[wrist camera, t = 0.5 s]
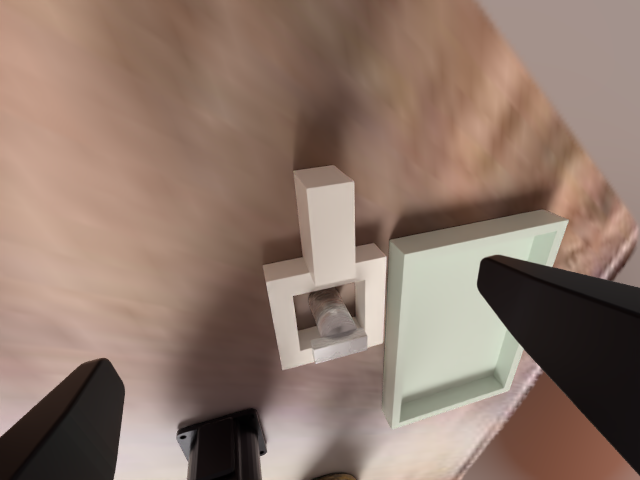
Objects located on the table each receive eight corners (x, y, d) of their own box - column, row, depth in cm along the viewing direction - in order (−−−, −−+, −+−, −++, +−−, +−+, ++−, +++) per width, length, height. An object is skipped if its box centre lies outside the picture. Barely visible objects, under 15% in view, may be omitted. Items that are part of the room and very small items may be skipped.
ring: (372, 325, 26) (391, 358, 23) (278, 350, 24) (285, 387, 21) (375, 159, 19) (403, 173, 16) (246, 177, 18) (250, 197, 15)
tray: (493, 373, 35) (508, 390, 33) (381, 409, 32) (391, 430, 30) (543, 209, 25) (568, 219, 23) (389, 240, 22) (404, 254, 20)
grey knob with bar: (342, 307, 24) (367, 356, 20) (299, 317, 23) (316, 370, 19) (341, 282, 23) (367, 329, 19) (296, 292, 22) (313, 342, 18)
